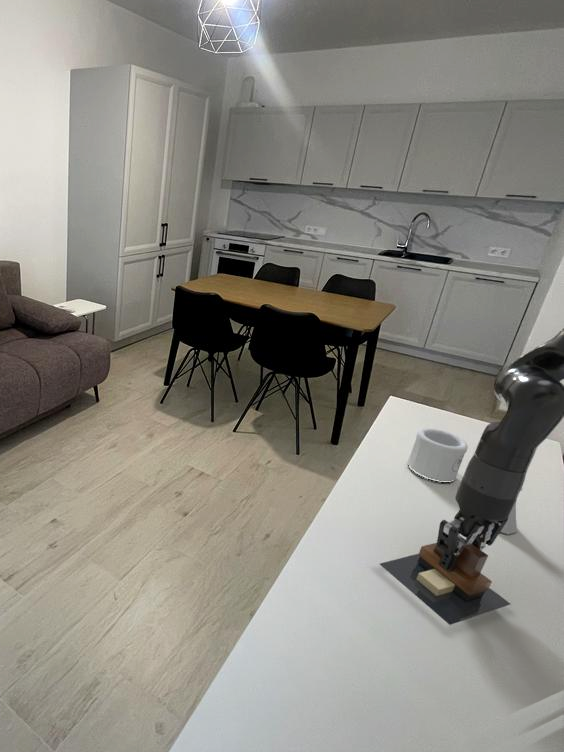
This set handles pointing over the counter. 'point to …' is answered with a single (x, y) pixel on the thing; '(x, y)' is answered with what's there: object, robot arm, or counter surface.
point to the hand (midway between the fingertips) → (455, 565)
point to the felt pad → (435, 582)
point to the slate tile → (446, 604)
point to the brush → (459, 569)
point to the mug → (437, 454)
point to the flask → (511, 521)
